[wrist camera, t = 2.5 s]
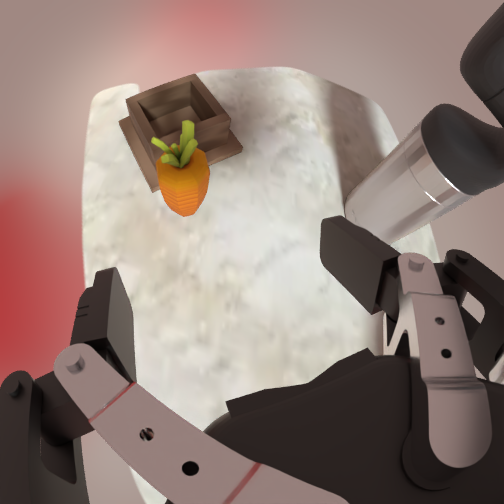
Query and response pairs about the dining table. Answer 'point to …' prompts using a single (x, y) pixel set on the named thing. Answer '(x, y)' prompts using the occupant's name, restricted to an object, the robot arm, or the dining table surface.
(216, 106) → the socket block
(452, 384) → the robot arm
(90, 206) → the dining table surface
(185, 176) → the carrot
